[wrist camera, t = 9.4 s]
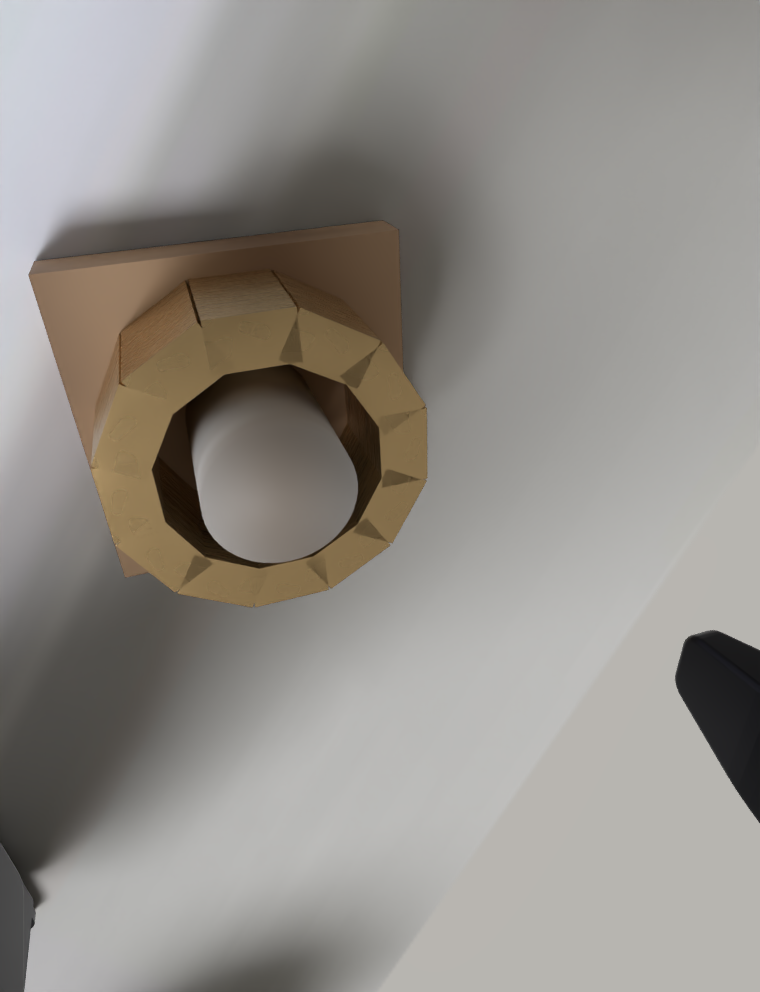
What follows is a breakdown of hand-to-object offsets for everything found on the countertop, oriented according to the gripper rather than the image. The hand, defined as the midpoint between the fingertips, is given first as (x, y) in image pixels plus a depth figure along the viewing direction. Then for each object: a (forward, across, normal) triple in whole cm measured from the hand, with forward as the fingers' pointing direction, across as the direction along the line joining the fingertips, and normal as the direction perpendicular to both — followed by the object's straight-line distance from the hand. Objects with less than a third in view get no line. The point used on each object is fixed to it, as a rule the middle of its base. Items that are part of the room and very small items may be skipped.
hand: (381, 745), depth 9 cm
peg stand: (+12, 0, 0) cm, 12 cm away
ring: (+10, 0, 0) cm, 10 cm away
